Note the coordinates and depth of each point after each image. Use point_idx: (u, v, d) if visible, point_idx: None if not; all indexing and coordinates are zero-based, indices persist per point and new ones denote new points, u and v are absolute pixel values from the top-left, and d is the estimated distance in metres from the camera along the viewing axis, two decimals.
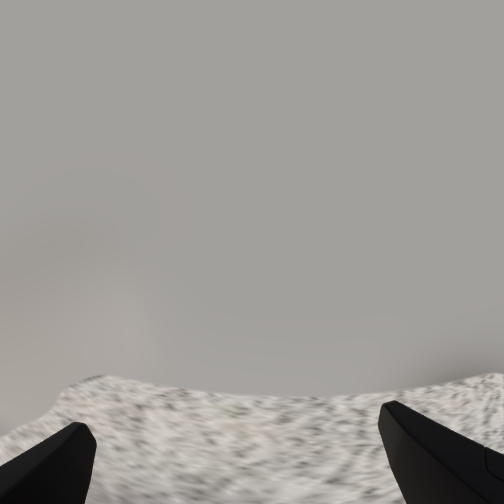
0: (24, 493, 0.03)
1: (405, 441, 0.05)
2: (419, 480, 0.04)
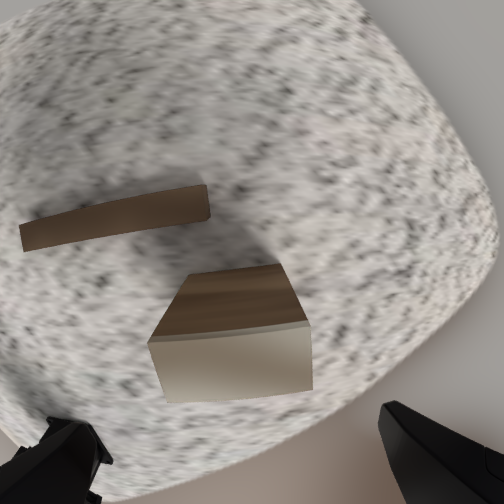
0: (24, 493, 0.03)
1: (405, 441, 0.05)
2: (419, 480, 0.04)
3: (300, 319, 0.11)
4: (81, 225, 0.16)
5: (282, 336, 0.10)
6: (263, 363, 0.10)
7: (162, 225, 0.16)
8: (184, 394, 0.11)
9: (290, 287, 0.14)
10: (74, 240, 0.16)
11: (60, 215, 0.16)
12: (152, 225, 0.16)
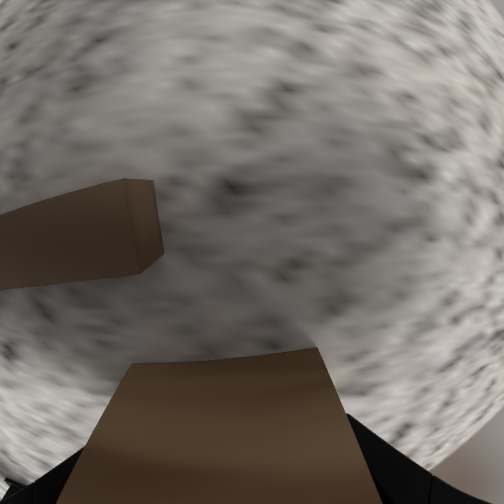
0: None
1: None
2: None
3: None
4: None
5: None
6: None
7: (49, 281, 0.06)
8: None
9: (363, 467, 0.04)
10: None
11: None
12: (32, 278, 0.06)
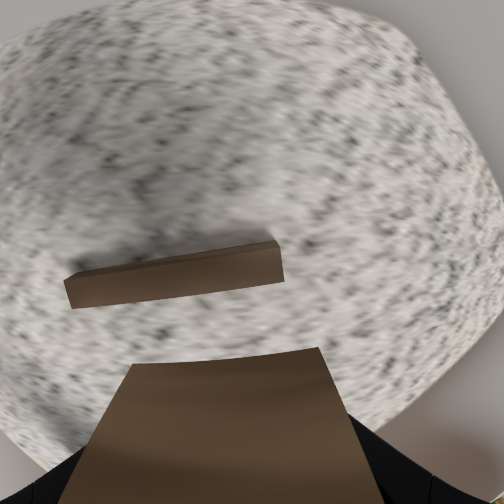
0: None
1: None
2: None
3: None
4: (144, 285, 0.16)
5: None
6: None
7: (239, 287, 0.16)
8: None
9: (364, 467, 0.04)
10: (136, 300, 0.16)
11: (117, 274, 0.16)
12: (227, 287, 0.16)
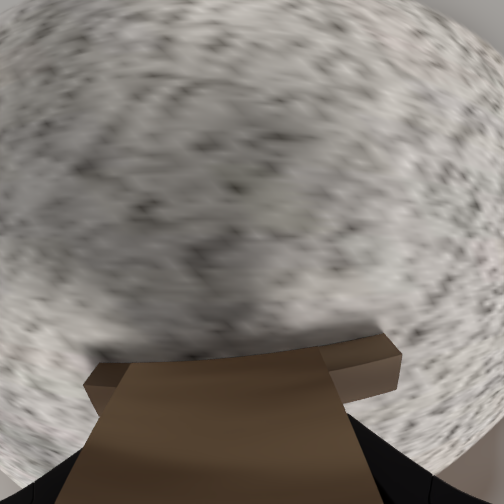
0: None
1: None
2: None
3: None
4: None
5: None
6: None
7: (344, 402, 0.11)
8: None
9: (363, 466, 0.04)
10: None
11: None
12: None
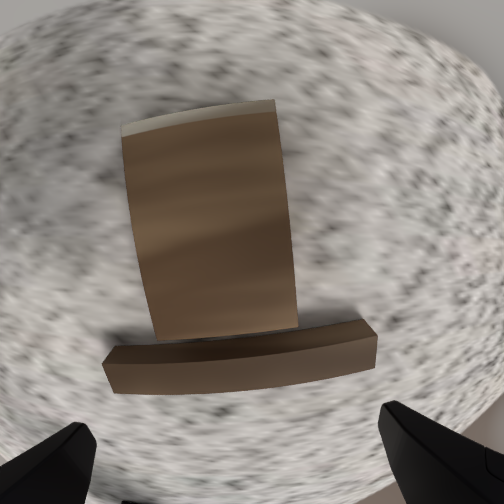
0: (25, 493, 0.03)
1: (405, 441, 0.05)
2: (419, 480, 0.04)
3: None
4: (215, 378, 0.13)
5: None
6: None
7: (328, 377, 0.13)
8: (143, 122, 0.10)
9: None
10: (203, 392, 0.13)
11: (178, 364, 0.13)
12: (316, 378, 0.13)
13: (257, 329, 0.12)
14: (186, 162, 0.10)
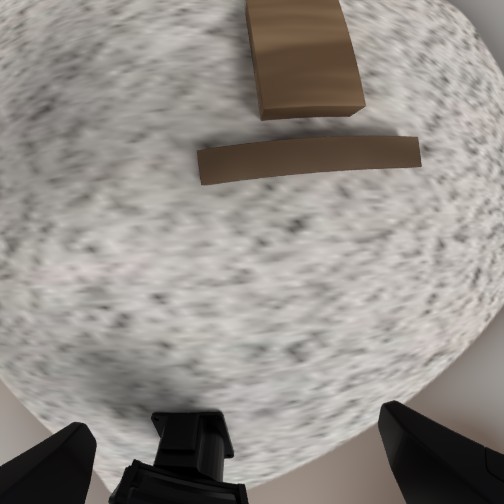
0: (24, 493, 0.03)
1: (405, 441, 0.05)
2: (419, 480, 0.04)
3: None
4: (303, 156, 0.16)
5: None
6: None
7: (389, 165, 0.16)
8: None
9: None
10: (292, 171, 0.16)
11: (273, 142, 0.16)
12: (380, 164, 0.16)
13: (339, 103, 0.14)
14: (289, 10, 0.13)
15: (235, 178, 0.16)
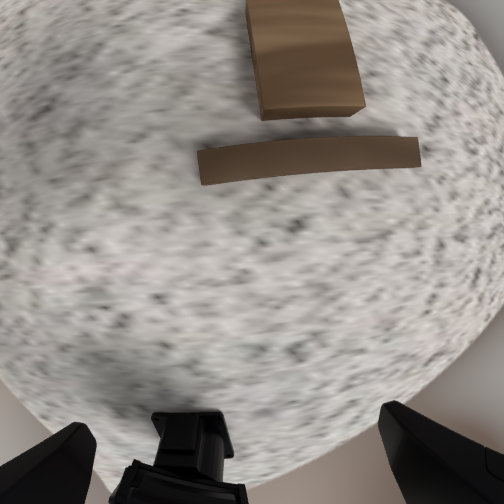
0: (24, 493, 0.03)
1: (405, 441, 0.05)
2: (419, 480, 0.04)
3: None
4: (303, 156, 0.16)
5: None
6: None
7: (389, 166, 0.16)
8: None
9: None
10: (292, 171, 0.16)
11: (273, 143, 0.16)
12: (380, 164, 0.16)
13: (339, 103, 0.14)
14: (289, 10, 0.13)
15: (235, 178, 0.16)
